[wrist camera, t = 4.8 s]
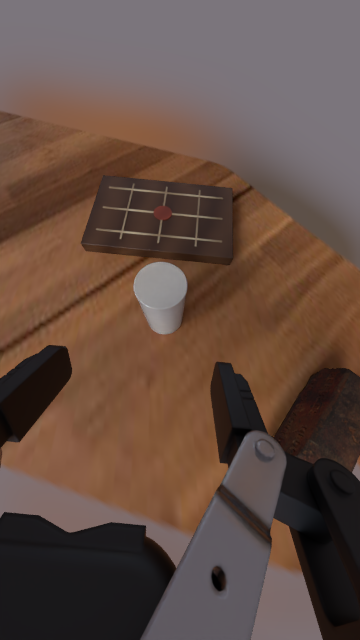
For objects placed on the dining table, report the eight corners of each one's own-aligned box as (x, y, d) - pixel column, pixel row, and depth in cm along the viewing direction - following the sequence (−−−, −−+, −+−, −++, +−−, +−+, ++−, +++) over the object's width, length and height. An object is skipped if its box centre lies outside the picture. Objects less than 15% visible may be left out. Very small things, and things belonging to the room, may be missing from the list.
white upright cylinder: (144, 332, 22) (128, 306, 14) (149, 299, 23) (138, 259, 15) (181, 336, 22) (185, 311, 14) (184, 302, 23) (189, 264, 16)
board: (85, 251, 25) (80, 242, 24) (106, 185, 29) (102, 174, 28) (229, 265, 25) (233, 257, 24) (229, 197, 29) (232, 187, 28)
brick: (310, 368, 21) (347, 365, 16) (342, 392, 20) (390, 395, 16) (262, 451, 18) (290, 474, 14) (296, 482, 17) (338, 517, 13)
